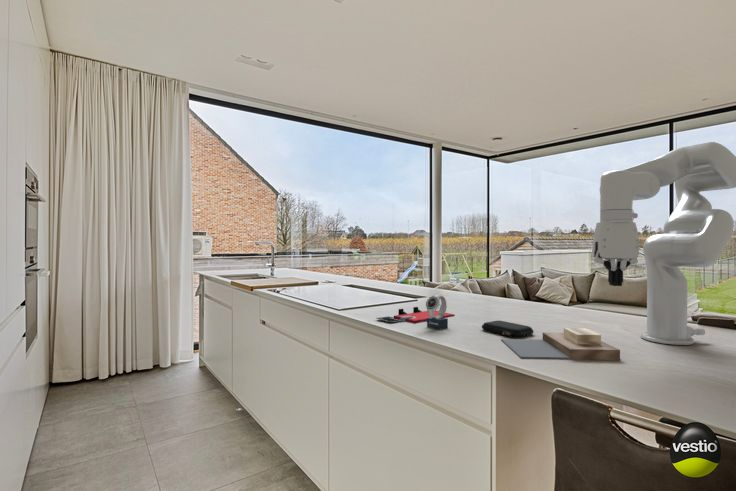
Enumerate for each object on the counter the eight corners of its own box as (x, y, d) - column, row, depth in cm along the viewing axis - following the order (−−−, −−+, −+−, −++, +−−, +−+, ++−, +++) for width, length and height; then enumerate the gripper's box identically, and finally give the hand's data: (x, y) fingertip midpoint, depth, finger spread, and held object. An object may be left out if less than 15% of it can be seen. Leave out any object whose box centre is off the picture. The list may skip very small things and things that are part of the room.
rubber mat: (542, 340, 115) (542, 339, 115) (570, 359, 97) (570, 357, 97) (501, 340, 116) (501, 339, 116) (520, 358, 98) (520, 356, 98)
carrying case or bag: (476, 331, 129) (515, 340, 117) (476, 322, 129) (515, 330, 117) (497, 327, 135) (536, 336, 123) (497, 319, 135) (536, 326, 123)
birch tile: (585, 337, 110) (585, 328, 110) (600, 344, 102) (601, 334, 102) (563, 336, 110) (563, 327, 110) (577, 344, 102) (577, 334, 102)
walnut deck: (584, 341, 115) (584, 333, 115) (620, 359, 97) (620, 349, 97) (542, 340, 115) (542, 332, 115) (570, 359, 97) (570, 349, 97)
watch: (423, 327, 134) (423, 295, 134) (438, 324, 139) (438, 293, 139) (436, 330, 129) (436, 297, 129) (451, 326, 135) (451, 295, 135)
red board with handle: (372, 319, 148) (399, 327, 136) (372, 312, 148) (399, 319, 136) (426, 312, 167) (454, 318, 155) (426, 305, 167) (454, 311, 155)
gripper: (636, 218, 108) (635, 284, 108) (580, 218, 109) (580, 283, 109) (654, 216, 101) (653, 287, 101) (594, 216, 102) (593, 286, 102)
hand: (615, 285), depth 105 cm, fingers closed
